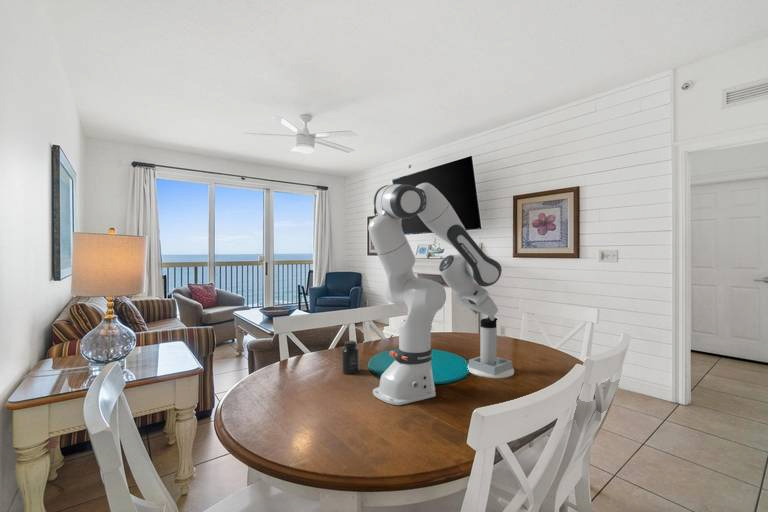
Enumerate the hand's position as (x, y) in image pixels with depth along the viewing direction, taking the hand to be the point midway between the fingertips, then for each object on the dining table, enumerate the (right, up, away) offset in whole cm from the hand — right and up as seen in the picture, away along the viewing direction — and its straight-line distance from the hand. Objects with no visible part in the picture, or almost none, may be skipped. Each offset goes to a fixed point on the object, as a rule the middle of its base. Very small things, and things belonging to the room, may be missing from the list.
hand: (484, 315), depth 141 cm
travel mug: (+2, -22, +2) cm, 22 cm away
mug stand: (+3, -22, +2) cm, 23 cm away
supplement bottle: (-53, -23, +2) cm, 58 cm away
